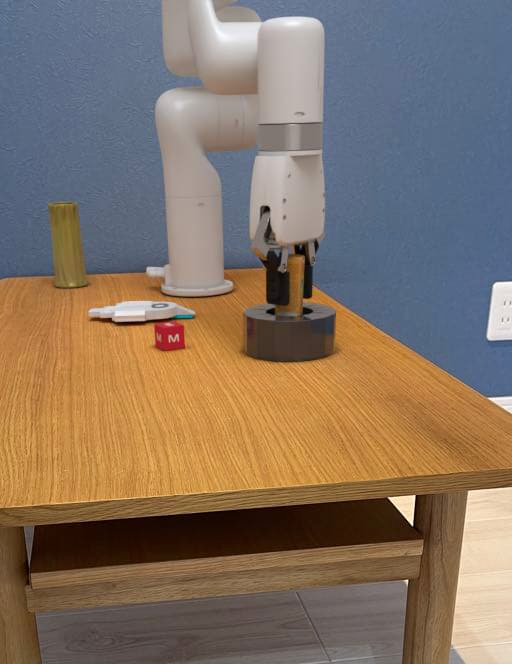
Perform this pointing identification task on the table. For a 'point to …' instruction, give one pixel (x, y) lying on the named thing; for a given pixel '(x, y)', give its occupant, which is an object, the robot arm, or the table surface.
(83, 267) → the vase
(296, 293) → the supplement box
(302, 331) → the tape roll
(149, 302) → the toy rocket
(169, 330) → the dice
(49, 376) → the table surface
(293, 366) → the table surface
